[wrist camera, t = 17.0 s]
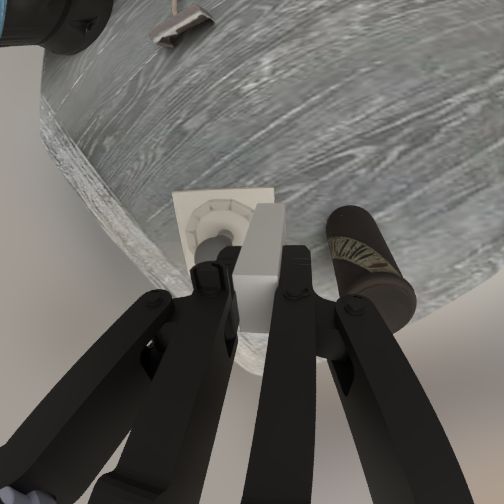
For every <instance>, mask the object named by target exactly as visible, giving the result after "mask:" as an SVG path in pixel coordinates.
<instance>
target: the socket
mask: <svg viewBox="0 0 504 504" xmlns="http://www.w3.org/2000/svg"><path fill="white" fill-rule="evenodd" d="M172 197H173V202H174V207H175V213H176V218H177V223H178V228H179V233H180V237H181V242H182V247H183V252H184V256H185V261H186V265H187V269H188V274H189V276H190V271H189V270H190V269H191V268H192V267H193V266H195V262H194V255H195V251H196V249H197V247H198V246H199V244H200V243H201V242H203V241H204V240H206V239H208V238H211V237H216V236H217V234H218V233H219V231H221V230H229V231H230V232H231V233H232V234H233V236H234V239H233V242H232V245H233V246H242V245H243V242H244V239H245V236H246V233H247V231H248V228H249V225H250V222H251V219H252V216H253V213H254V211H255V208H256V205H257V203H275V193H274V186H272V187H235V188H213V189H195V190H180V191H173V192H172Z"/></svg>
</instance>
